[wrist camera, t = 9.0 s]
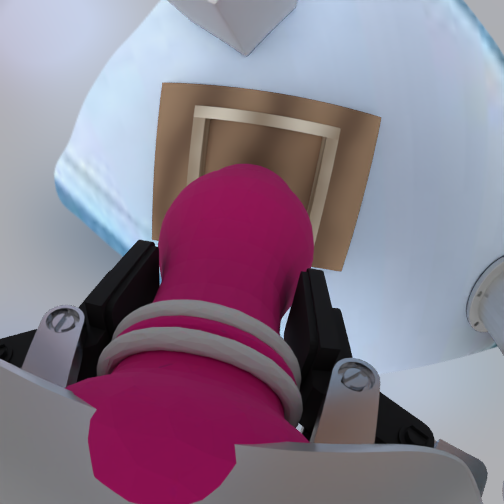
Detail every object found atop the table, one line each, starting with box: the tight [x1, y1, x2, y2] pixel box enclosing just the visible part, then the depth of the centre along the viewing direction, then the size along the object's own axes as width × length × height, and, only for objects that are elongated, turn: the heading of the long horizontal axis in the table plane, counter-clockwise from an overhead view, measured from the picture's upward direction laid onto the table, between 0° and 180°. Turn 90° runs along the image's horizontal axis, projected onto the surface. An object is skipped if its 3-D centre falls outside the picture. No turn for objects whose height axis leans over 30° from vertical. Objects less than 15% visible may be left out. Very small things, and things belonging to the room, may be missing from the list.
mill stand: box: [152, 83, 381, 271], centre depth 27 cm, size 20×16×3 cm
